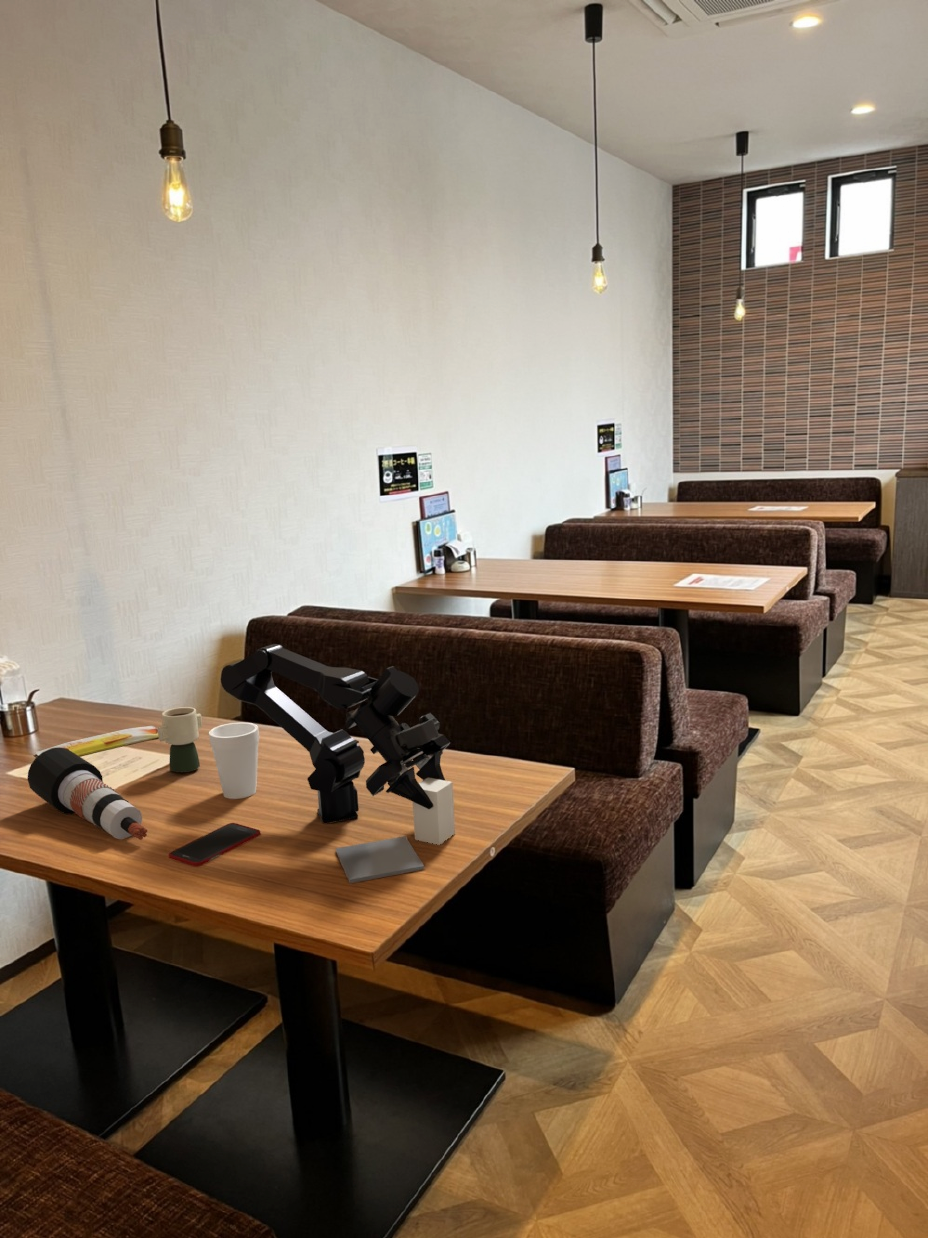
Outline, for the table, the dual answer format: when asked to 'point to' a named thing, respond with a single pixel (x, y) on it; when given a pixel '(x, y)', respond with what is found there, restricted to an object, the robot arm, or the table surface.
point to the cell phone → (214, 844)
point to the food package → (109, 740)
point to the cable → (83, 793)
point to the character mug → (181, 737)
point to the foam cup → (236, 758)
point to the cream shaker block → (435, 812)
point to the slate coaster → (378, 859)
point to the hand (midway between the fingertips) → (440, 801)
